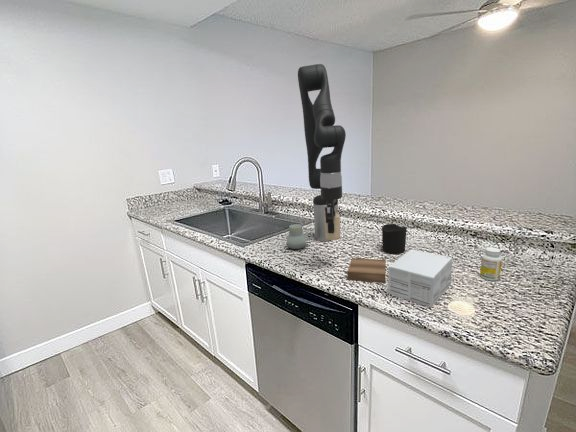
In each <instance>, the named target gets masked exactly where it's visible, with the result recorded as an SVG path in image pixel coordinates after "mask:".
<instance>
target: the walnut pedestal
mask: <svg viewBox="0 0 576 432" xmlns="http://www.w3.org/2000/svg"><path fill="white" fill-rule="evenodd" d="M386 261H387V260H386V259H375V258H358V257H357V258H356V257H351V260H350V263H349V266H348V270H347V280H348V281H359V282H368V283H370V282H372V283H381V284H382V283H383V284H385V283H386V275H387V273H386V271H387V269H386V268H387V267H386V265H387V262H386Z"/></svg>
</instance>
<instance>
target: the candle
mask: <svg viewBox="0 0 576 432" xmlns="http://www.w3.org/2000/svg"><path fill="white" fill-rule="evenodd" d="M329 220H331V217H329ZM334 221H335V222H334V233H328V223H326V216H325V238H326V239H327V240H331V241H338V240H340V239H341V216H340V214H339V212H338V213H337V212H336V217H334Z"/></svg>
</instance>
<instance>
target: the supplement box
mask: <svg viewBox="0 0 576 432" xmlns="http://www.w3.org/2000/svg"><path fill="white" fill-rule="evenodd" d="M453 262H454V261H453V257H451V256H446V255H443V254H436V253H431V252H427V251H421V250H418V249H417V250H416V249H412V248H411V249H410V250H408V251H407V252H406V253H405V254H403V255H401V256H400V257H399V258H398V259H396V260H395V261H394V262H392V263H391V264H390V265H389V266H388V267H387V268H388V275H387V276H388V278H387V283H388V284H387V285H388V286H387V289H388V290H387V294H388V295H392V296H395V297H397V298H400V299H403V300H407V301H411V302H413V303H416V304H420V305H423V306H425V307H429V308H433V306H434V305H435V304H436V303H437V302H438V301H439V299H440V298H441V297H442V296H443V295H444V293H446V291H447V290H448V288H449V287H450V286H451V285H452V274H453Z"/></svg>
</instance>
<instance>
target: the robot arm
mask: <svg viewBox="0 0 576 432" xmlns="http://www.w3.org/2000/svg"><path fill="white" fill-rule="evenodd" d="M297 81H298V88H299V92H300V100H301V107H302V115H303V129H304V130H303V131H304V139H305V145H306V153H307V164H308V165H307V166H308V167H307V168H308V183H309V186H310V188H311V189H312V190H320V194H319V195H316V196H314V197H313V199H312V201H313V203H312V204H313V205H312V206H313V224H314V239H316V240H315V241H317V240H318V242H330V241H329V240H327V239H326V238H325V216H326V223H328V233H334V222H335V221H334V217H336V212H337V213H338V214H339V200H340V199H341V198H343V177H342V161H341V160H342V156H343V155H342V153H343V149H344V145H345V141H346V137H347V136H346V135H347V134H346V130H345V128H344V127H343V126H342V125H341V124H340V125H339V124H338V125H335V122H336V116H335V113H334V109H333V106H332V101H331V92H330V91H331V90H330V85H329V78H328V72H327V69H326V67H325V65H324V64H322V63H319V64H318V63H317V64H311V65H304V66H300V67H299V68H298V71H297ZM315 91H319V93H318V95H317V96H316V98H315V100H314V101H313V102H312V101H311V98H310V96H309V92H315ZM326 148H333V150H332V151H331V152H330V153H327V154H324V155H322V156H320V155H321V153H322V151H323V149H326ZM319 156H320V160H319ZM318 160H319V162H320V164H319V165H320V167H319V168H317V161H318ZM329 217H331V220H329Z"/></svg>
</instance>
